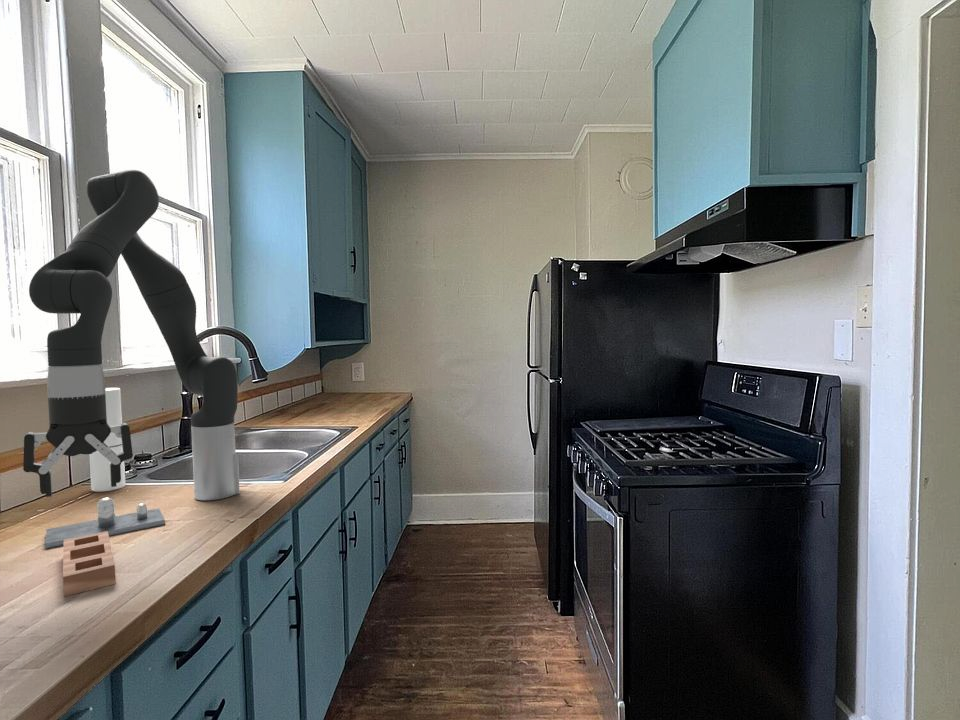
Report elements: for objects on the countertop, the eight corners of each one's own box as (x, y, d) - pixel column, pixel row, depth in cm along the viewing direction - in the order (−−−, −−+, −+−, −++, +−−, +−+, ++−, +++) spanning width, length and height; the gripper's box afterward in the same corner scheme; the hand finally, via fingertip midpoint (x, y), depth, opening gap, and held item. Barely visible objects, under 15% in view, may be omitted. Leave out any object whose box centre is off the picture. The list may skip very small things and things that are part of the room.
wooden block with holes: (64, 556, 94) (63, 539, 94) (108, 547, 98) (107, 531, 98) (64, 596, 80) (62, 576, 80) (115, 583, 84) (114, 564, 84)
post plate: (159, 512, 116) (157, 483, 116) (165, 524, 109) (163, 493, 109) (46, 534, 105) (44, 502, 104) (45, 548, 98) (43, 514, 97)
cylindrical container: (102, 483, 139) (97, 388, 137) (131, 482, 140) (126, 387, 138) (84, 492, 132) (78, 391, 130) (115, 491, 132) (109, 390, 131)
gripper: (127, 388, 94) (131, 478, 95) (21, 394, 86) (27, 493, 87) (131, 391, 88) (135, 488, 89) (17, 398, 80) (23, 505, 81)
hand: (82, 490), depth 88 cm, fingers open, 8 cm apart
